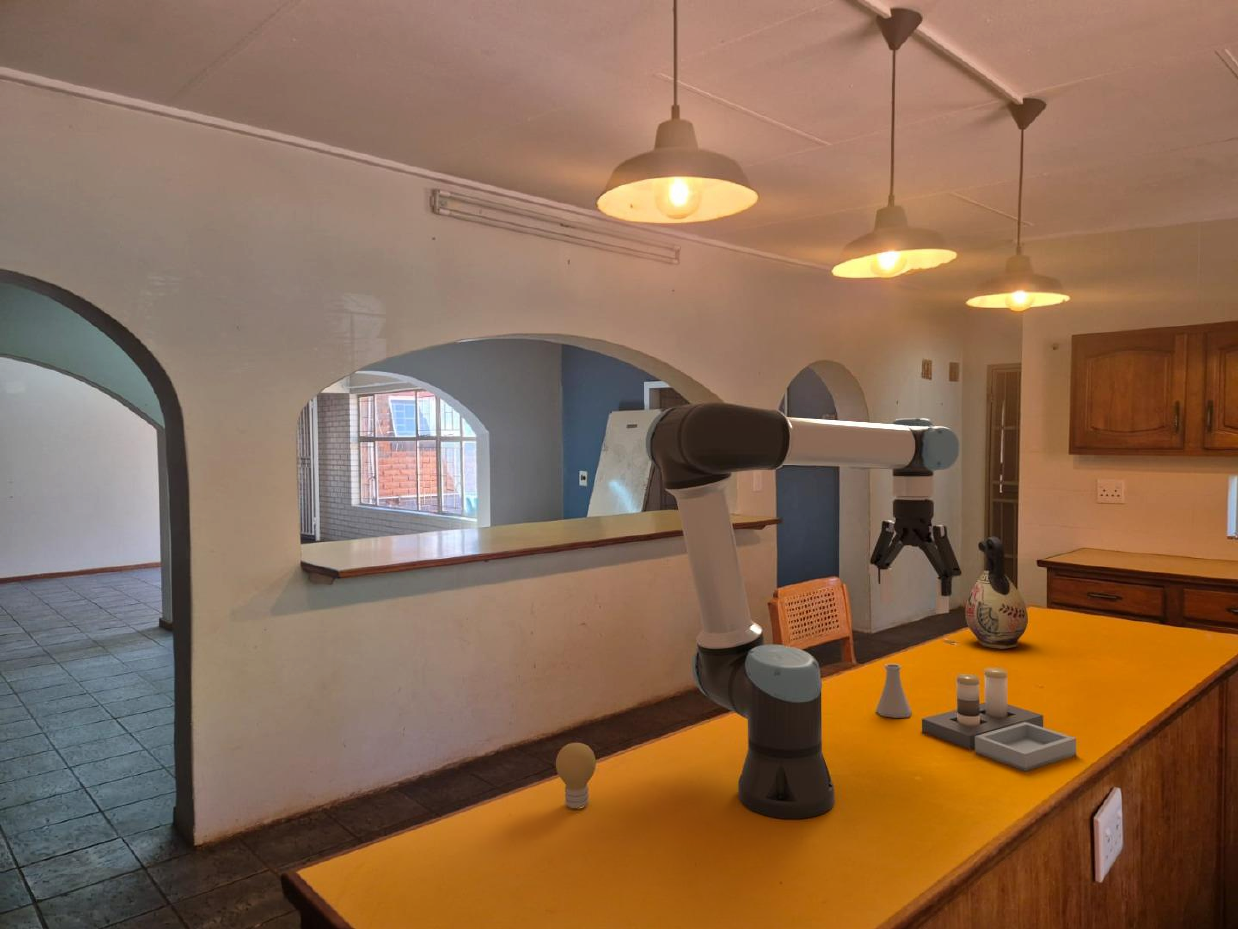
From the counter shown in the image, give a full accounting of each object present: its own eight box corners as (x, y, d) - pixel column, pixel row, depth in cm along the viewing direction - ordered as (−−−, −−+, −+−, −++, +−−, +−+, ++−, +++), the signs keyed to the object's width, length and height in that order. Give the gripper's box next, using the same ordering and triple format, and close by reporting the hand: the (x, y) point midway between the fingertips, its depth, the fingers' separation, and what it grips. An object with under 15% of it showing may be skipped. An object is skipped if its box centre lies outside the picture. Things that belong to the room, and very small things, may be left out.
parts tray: (1025, 771, 139) (1024, 754, 139) (975, 752, 148) (974, 736, 148) (1076, 755, 145) (1076, 738, 145) (1025, 737, 154) (1025, 722, 154)
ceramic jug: (958, 638, 231) (957, 532, 230) (1016, 638, 228) (1015, 531, 228) (976, 653, 214) (974, 539, 213) (1039, 654, 212) (1037, 539, 211)
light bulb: (559, 797, 134) (557, 737, 133) (598, 797, 134) (596, 736, 133) (554, 815, 127) (553, 752, 127) (595, 815, 127) (594, 751, 127)
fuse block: (969, 749, 149) (969, 736, 149) (922, 731, 159) (921, 718, 159) (1043, 728, 159) (1043, 715, 159) (994, 712, 169) (993, 700, 169)
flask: (914, 720, 166) (913, 671, 165) (877, 718, 167) (876, 670, 167) (909, 708, 173) (908, 661, 172) (873, 707, 174) (872, 660, 174)
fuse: (998, 730, 158) (997, 674, 158) (980, 724, 162) (980, 669, 161) (1012, 727, 160) (1011, 671, 160) (994, 721, 164) (993, 666, 163)
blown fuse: (970, 739, 154) (969, 681, 154) (952, 732, 158) (951, 676, 158) (984, 734, 156) (983, 677, 156) (967, 728, 160) (966, 673, 160)
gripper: (981, 500, 149) (981, 616, 150) (878, 494, 171) (878, 595, 172) (953, 502, 146) (954, 620, 146) (851, 495, 168) (852, 598, 168)
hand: (913, 607), depth 159 cm, fingers open, 13 cm apart
